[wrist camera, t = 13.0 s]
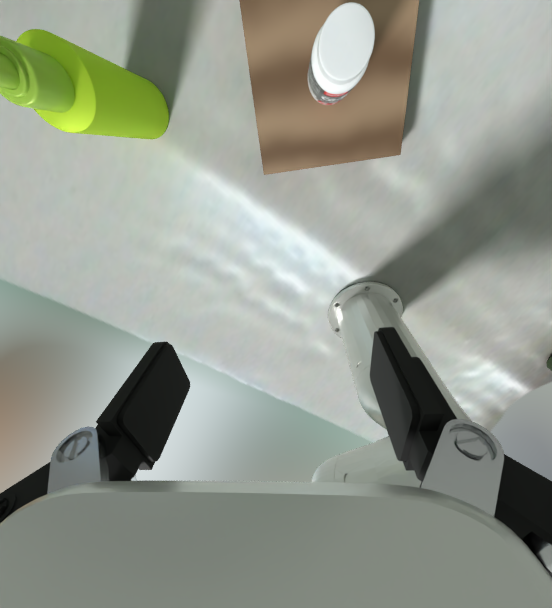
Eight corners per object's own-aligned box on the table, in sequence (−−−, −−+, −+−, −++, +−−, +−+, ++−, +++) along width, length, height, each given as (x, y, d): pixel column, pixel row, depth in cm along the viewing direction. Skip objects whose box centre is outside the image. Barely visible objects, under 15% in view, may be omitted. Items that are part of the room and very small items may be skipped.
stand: (391, 154, 30) (400, 154, 28) (266, 173, 32) (264, 174, 30) (413, -52, 22) (428, -79, 19) (241, -10, 24) (235, -30, 21)
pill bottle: (317, 115, 26) (326, 101, 19) (299, 62, 24) (302, 25, 17) (360, 88, 25) (387, 63, 18) (345, 29, 23) (369, -26, 16)
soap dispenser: (128, 53, 27) (-157, -116, 10) (178, 112, 29) (22, 60, 12) (103, 99, 29) (-162, 26, 12) (152, 150, 31) (-10, 149, 15)
